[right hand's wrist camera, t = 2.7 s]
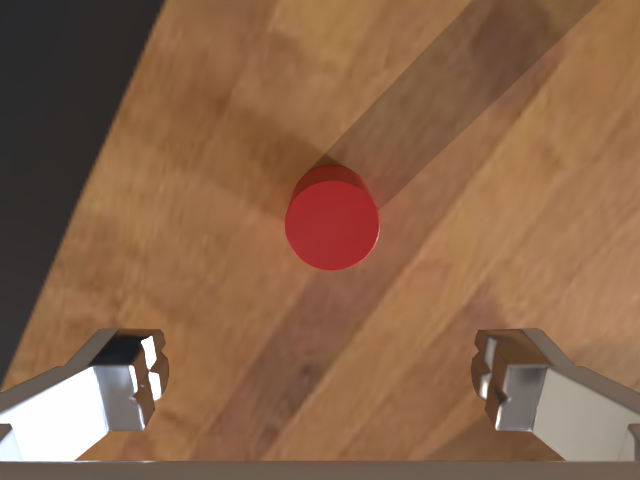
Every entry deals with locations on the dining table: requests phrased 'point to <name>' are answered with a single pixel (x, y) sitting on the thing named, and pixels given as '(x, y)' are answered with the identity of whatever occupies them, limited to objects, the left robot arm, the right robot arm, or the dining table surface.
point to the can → (332, 219)
